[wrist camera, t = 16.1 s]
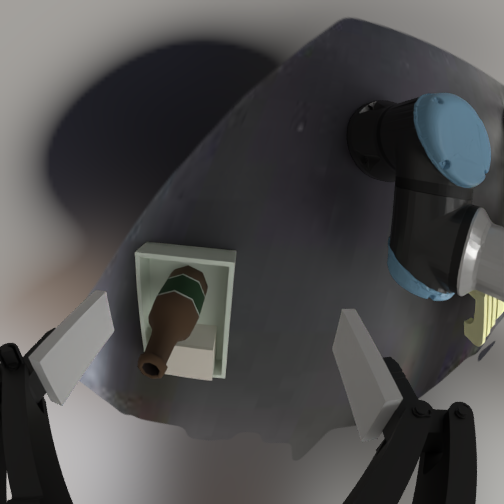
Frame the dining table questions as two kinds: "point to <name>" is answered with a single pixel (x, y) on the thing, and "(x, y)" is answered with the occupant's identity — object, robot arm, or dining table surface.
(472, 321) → the slatted curved stool
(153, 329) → the beer bottle
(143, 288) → the tote
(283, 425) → the dining table surface
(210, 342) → the off-white rectangular block
